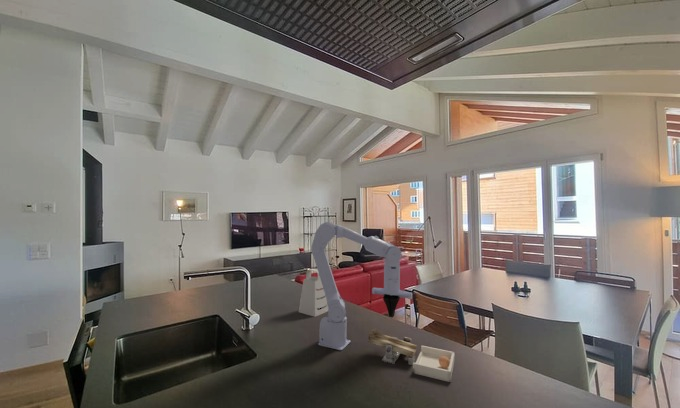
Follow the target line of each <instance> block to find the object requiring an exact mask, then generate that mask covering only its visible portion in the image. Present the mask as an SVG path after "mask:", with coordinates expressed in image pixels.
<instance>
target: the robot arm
mask: <svg viewBox="0 0 680 408" xmlns="http://www.w3.org/2000/svg"><path fill="white" fill-rule="evenodd" d="M334 237H335V239H341V238H345V239H347V240H350V241H353V242H355V243H357V244H360V245H363V246H364V249H365V251H367V252H369V253H372V254H374V255H375V256H378V257H379V258H382V257H383V258H384V264H383V288H382V287H372V289H371V294H372V295H382V296H383V297H382V300H383V302H384V304H385V306H386V310H387V312H388V317H389V318H393V317H394V316H395V313H396V310H397V309H396V308H397V307H398V306H397V305H398V303H399V301H400V299H401V298H403V299H408V300H412V299H413V292H409V291H406V290H402V289H401V284H400V283H401V264H400V263H401V261H400V260H401V259H402V258H403V254H402V251H401V249H400V248H399V247H397V246H395V245H394V244H392V243H391V242H390V241H385V240H382V239H380V237H379V236H377V235H374V236H373V235H371V236H368V237H367V236H365V235H362V234H360V233H359V232H356V231H354V230H352V229H350V228H347V227H346V226H343V225H339V224H337V223H334V224H333V222H330V221H326V222H323V223H321V224H320V225H319V226H318V228H317V229H316V231H315V232H314V237H313V239H312V242H311V243H312V244H311V247H310V249H311V253H312V257H313V260H314V263H315V267H316V269H317V270H318V273H319V276H320V279H321V282H322V285H323V288H324V292H325V295H326V299H327V304H328V311H327V316H323V317H322V318H321V319H320V322H319V327H318V329H319V332H318V333H319V336H318V338H319V339H318V340H319V342H318V344H317V345H318V346H321V347H325V348H330V349H332V350H333V349H334V350H338V351H343V350H344V349H345V348H346V347H347V346H348V345H349V344H350V343H351V342H352V341H351V340H350V339H347V337H348V335H347V331H348V330H347V323H348V322H347V320H348V317H347V316H346V315H347V311H346V303H345V300H344V299H343V298H342V297H341V295H340V292H339V290H338V287H337V284H336V281H335V278H334V275H333V271H332V268H331V265H330V263H329V259H328V257H327V252H326V250H325V249H326V247H327V246H328V244H329V242H330V241H332V240H333V238H334ZM318 273H317V274H318Z"/></svg>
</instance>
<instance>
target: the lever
mask: <svg viewBox="0 0 680 408" xmlns="http://www.w3.org/2000/svg"><path fill="white" fill-rule="evenodd" d="M393 337H394V336H389V335H385V334H383V333H380V332H377V329H376V328H372V330H370V332H369V333H368V339H367V342H368V343H370V344H373V345H376V346H378V347H381V348H385V349H386V344H387V345H392V346H393V351H395V352H398V353H401V354H400V355H404V356H406V357H409V356H410V357H414V355H415V356H416V352H417V348H418V344H413V343H412V340H413V339H412V338H410V337H407V336H404V337H403V339H399V338H398V339H396V338H397V337H396V338H393Z"/></svg>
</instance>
